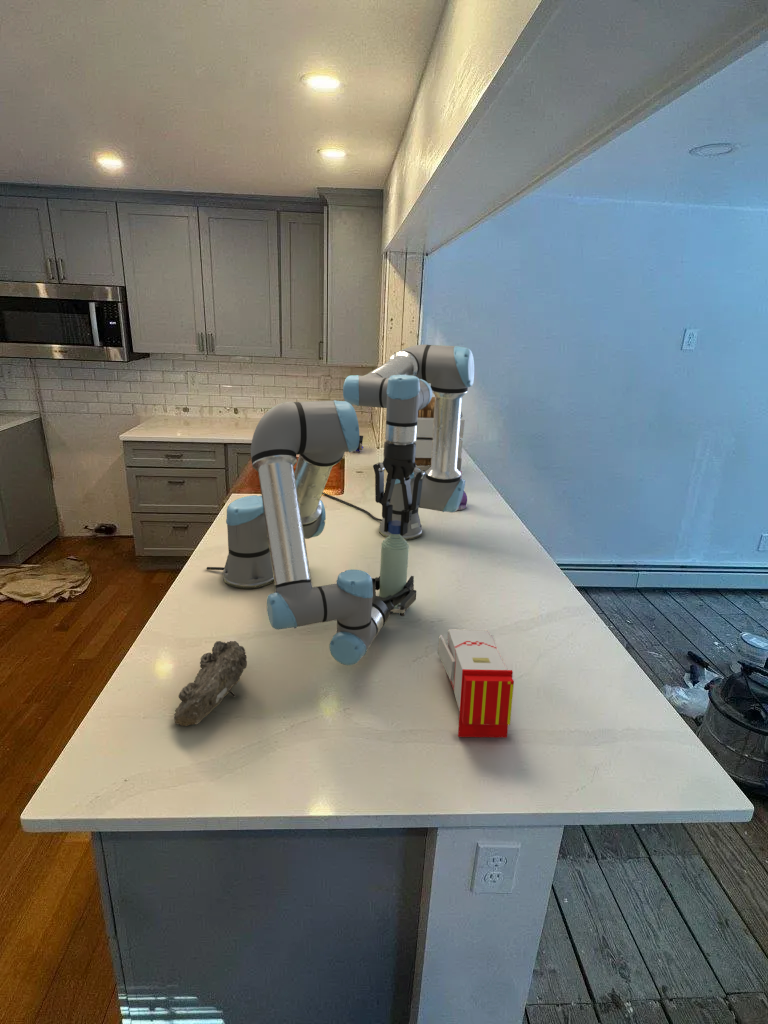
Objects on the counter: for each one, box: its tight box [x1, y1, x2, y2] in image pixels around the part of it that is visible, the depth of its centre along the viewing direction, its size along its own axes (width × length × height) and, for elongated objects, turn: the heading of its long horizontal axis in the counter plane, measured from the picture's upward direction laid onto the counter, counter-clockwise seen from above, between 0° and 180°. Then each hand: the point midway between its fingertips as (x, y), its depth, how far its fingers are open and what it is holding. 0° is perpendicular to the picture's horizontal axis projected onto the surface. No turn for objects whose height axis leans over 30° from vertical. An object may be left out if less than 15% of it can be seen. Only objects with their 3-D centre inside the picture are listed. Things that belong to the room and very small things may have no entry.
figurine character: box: [352, 434, 364, 454], centre depth 311 cm, size 7×8×15 cm
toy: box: [437, 628, 515, 738], centre depth 117 cm, size 12×13×30 cm
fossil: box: [173, 640, 248, 727], centre depth 113 cm, size 22×10×15 cm
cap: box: [388, 520, 401, 534], centre depth 144 cm, size 4×4×2 cm
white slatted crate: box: [383, 396, 465, 471], centre depth 268 cm, size 34×33×41 cm
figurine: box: [456, 470, 468, 511], centre depth 227 cm, size 9×10×15 cm
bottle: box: [378, 533, 410, 614], centre depth 147 cm, size 7×7×23 cm
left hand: (398, 577), depth 154 cm, fingers closed on bottle, 7 cm apart
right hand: (395, 531), depth 144 cm, fingers closed on cap, 4 cm apart
